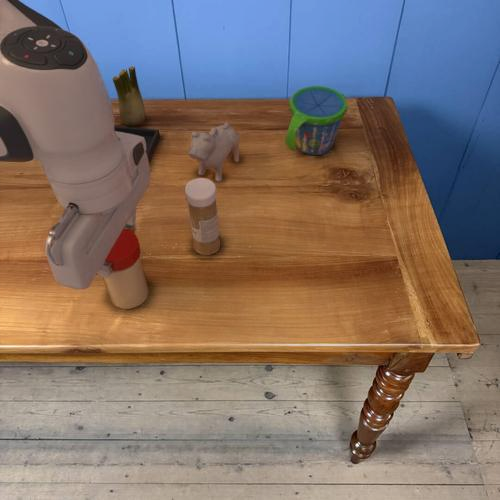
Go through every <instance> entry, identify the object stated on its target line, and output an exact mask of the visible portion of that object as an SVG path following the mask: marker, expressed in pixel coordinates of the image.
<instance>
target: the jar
mask: <svg viewBox="0 0 500 500" xmlns="http://www.w3.org/2000/svg"><path fill="white" fill-rule="evenodd" d="M102 279H103V282H104V285H105V287H106V290H107V293H108V296H109V298H110V301H111V303H112V304H113V305H114V306H115V307H117V308H119V309H123V310H130V309H134V308H138V307H139V306H140V305H142V304H143V303H144V302H145V301H146V299H147V298H148V295H149V287H148V283H147V278H146V274H145V270H144V265H143V262H142V258H141V255H140V256H139V258H138V260H137V261H136V262H135V263H134V264H133V265H132V266H130V267H128V268H126V269H124V270H119V271H113V272H112V274H111V275H110V277H109V278H105V277H102Z"/></svg>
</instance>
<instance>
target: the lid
mask: <svg viewBox="0 0 500 500" xmlns="http://www.w3.org/2000/svg"><path fill="white" fill-rule="evenodd" d="M141 253H142V252H141V245H140V241H139V237H138V236H137V234H136V232H135V233H134V232H132V231H131V230H129V229H125V228H124V229H123V230H122V232H121V234H120V235H119V237H118V239H117V241H116V242H115V244H114V246H113V247H112V249H111V251H110V252H109V254H108V256H107V257H106V259H105V262H106V261H107V262H112V265H113V267H114V270H113V271H119V270H124V269H126V268H128V267H130V266H132V265H133V264H134V263H135V262H136V261H137V260H138V258H139V256H140V257H141Z"/></svg>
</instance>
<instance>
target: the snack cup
mask: <svg viewBox="0 0 500 500" xmlns="http://www.w3.org/2000/svg"><path fill="white" fill-rule="evenodd" d="M288 103H289V109H290V112H291V114H292V118H291V120H290V122H289V126H288V129H287V134H286V136H285V141H284V142H285V145H286V147H287V148H288V149H291V150H292V151H296V150H297V149H298V150H299V151H300V153H303V154H307V155H311V156H322V155H324V154H325V153H328V151H330V150H331V149H332V147H333V145H334V143H335V140H336V137H337V134H338V131H339V128H340V126H341V123H342V119H343V118H344V116H345V115H346V114H347V112H348V107H349V106H348V101H347V98H346V96H345V95H344V93H341V92H340V91H338V90H336V89H334V88H331V87H328V86H322V85H312V86H306V87H303V88H301V89H299V90H296V92H294V93H293V94H292V96H291V98H290V99H289V102H288Z"/></svg>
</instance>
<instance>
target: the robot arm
mask: <svg viewBox="0 0 500 500" xmlns="http://www.w3.org/2000/svg"><path fill="white" fill-rule="evenodd" d="M115 126H116V119H115V113H114V109H113V105H112V103H111V98H110V95H109V92H108V89H107V86H106V83H105V80H104V77H103V75H102V73H101V71H100V68H99V65H98V64H97V62H96V60H95V58H94V56H93V54H92V53H91V51H90V50H89V48H88V47H87V45H86V44H85V43H84V42H83V41H82V40H81V38H79V37H78V36H77V35H75V34H73V32H70V31H68V30H66V29H64V28H63V27H61V26H60V25H58V24H57V23H56V22H55V21H53V20H51V19H50V18H48V17H46V16H45V15H43V14H42V13H40V12H39V11H36V10H35V9H33V8H31V7H29V6H28V5H26V4H25V3H24V2H22V1H21V0H0V163H2V162H3V163H29V162H32V161H33V160H35V161H37V162H38V163H40V164H41V168H42V170H43V172H44V175H45V177H46V178H47V181H48V183H49V185H50V188H51V189H52V191H53V194H54V195H55V198H56V200H57V202H58V204H59V205H60V206H61V207H62V208H63V209H64V210H63V212H62V214H60V216H59V218H58V220H57V222H56V223H55V224H54V225H52V227H51V229H50V230H49V232H48V236H47V237H46V240H45V247H44V249H45V255H46V258H47V259H46V260H47V262H48V265H49V267H50V270H51V273H52V275H53V277H54V279H55V281H56V283H57V284H58V285H60V286H62V287H65V288H69V289H73V290H87V289H88V288H90V286H91V285H92V283H93V281H94V279H95V278H96V276H99V277H101V278H103V277H105V278H109V277H110V275H111V274H112V272H113V270H114V267H113V265H112V262H107V261H106V262H105V259H106V257H107V256H108V254H109V252H110V251H111V249H112V247H113V246H114V244H115V242H116V241H117V239H118V237H119V235H120V234H121V232H122V230H123V229H124V228H125V229H129V230H131V231H132V232H134V233H135V234H136V231H137V225H136V219H137V218H136V217H137V207H138V205H139V203H140V201H141V200H142V198H143V196H144V195H145V194H146V191H147V190H148V188H149V186H150V183H151V178H152V174H151V173H152V172H151V167H150V164H149V161H148V157H147V154H146V152H145V151H146V141H145V138H144V137H141V136H138V135H134V134H129V133H124V132H118V131H115V129H114V127H115Z"/></svg>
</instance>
